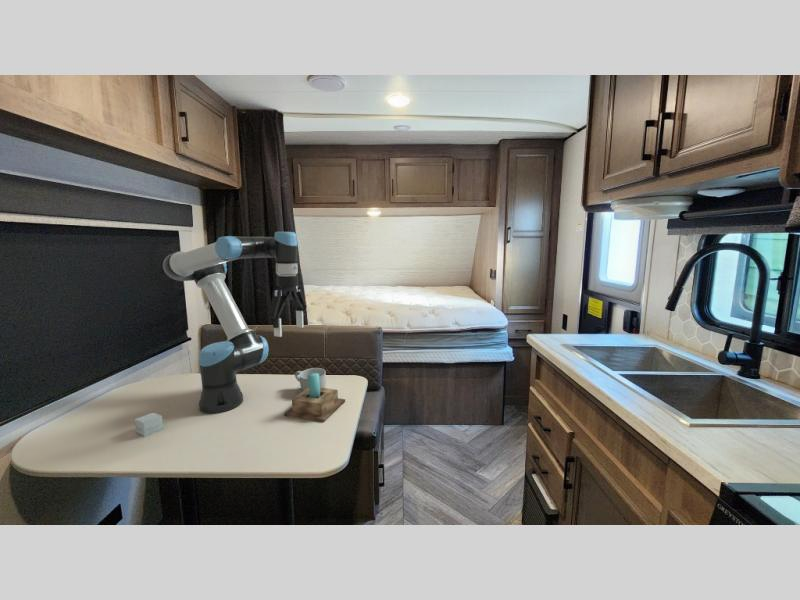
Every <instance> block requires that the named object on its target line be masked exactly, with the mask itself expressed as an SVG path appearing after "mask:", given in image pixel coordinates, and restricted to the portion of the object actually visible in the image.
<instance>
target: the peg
mask: <svg viewBox="0 0 800 600" xmlns="http://www.w3.org/2000/svg"><path fill="white" fill-rule="evenodd" d="M308 386H309V397H310V398H319V397H320V381H319V374H318V373H311V374H309V375H308Z"/></svg>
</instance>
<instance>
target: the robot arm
mask: <svg viewBox="0 0 800 600" xmlns="http://www.w3.org/2000/svg"><path fill="white" fill-rule="evenodd" d="M258 258H269V259H270V258H272V259H273V258H275V274H276V286H277V287H278V288H279V289H278V290H277V289H273V291H272V299H271V303H270V307H269V309H268V310H269V311H268V313H267V314H268V315H267V317H268V318H269V319H272V328H273V336H274V337H279V338H281V337H282V336H283V331H282V318H281V317H280V316H281V315H282V312H283V310H284V308H285V305H286V303H288V302H289V301H291V302H292V304H293V306H294V308H296V310H295V319H296V320H295V321H296V323H295V324H296V328H304V326H305V325H304V311H306V310H307V308H308V307H307V303H306V300H305V296H304V294H303V291H302V286H301V285H299V275H298V273H299V271H298V270H299V269H298V268H299V267H298V266H299V265H298V238H297V233H296V232H295V231H275V232H274V236H236V235H235V236H234V235H233V236H232V235H227V236H219V237H218V238H217V240H216V241H215V242H213V243H210V244H207V245H204V246H201V247H198V248H195V249H191V250H189V251H177V252H174V253H171V254H168V255H167V256H166V257H165V258H164V260H163V262H162V268H163V271H164V273H165V274H166V275H167V276H168V277H169V278H170V279H172V280H174V281H179V282H189V281H193V282H194V283H195V285H196V286H197V287H198V288H200V289H202V290H203V291H204V294H205V295H206V297H207V299H208V301H209V304H210V305H211V307H212V309H213V312H214V313H215V315H216V317H217V319H218V321H219V323H220V325H221V327H222V329H223V331H224V333H225V335H226V338H227V339H226V340H224V341H219V342H217V341H216V342H213V343H211V344H210V343H209V344H208V345H206V346H204V347H203V348H201V350H199V353H198V364H199V370H200V379H201V392H200V393H201V394H200V399H199V401H198V409H199V411H200V412H201V413H204V414H219V413H224V412H227V411H230V410H231V411H232V410H233V409H235V408H237V407H239V406H241V405H242V403H243V402H244V395H243V392H242V391H241V388H240V386H239V384H238V380H237V373H239V372H242V371H245V370H247V369H250V368H252V367H257V366H258V365H260V364H262V363H264V362H265V361H266V360H267V358H268V355H269V349H270V348H269V343H268V341H267V339H266V338H265V337H263V336H262V335H257V333H256V331H255V330H254V329H250V328H249V326H248V325H247V323H246V321H245V318H244V317H243V314H242V313H241V311H240V308H239V307H238V305H237V304H236V301H235V300H234V298H233V296H232V293H231V292H230V289H229V287H228V286H227V284H226V282H225V279H226V277H227V276H226V275H227V271H228V268H227V263H228V262H232V261H236V260H240V259H241V260H242V259H258Z"/></svg>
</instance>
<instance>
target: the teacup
mask: <svg viewBox="0 0 800 600" xmlns="http://www.w3.org/2000/svg"><path fill="white" fill-rule="evenodd" d="M311 373H318V374H319V381H320V388H325V386H326V385H327V376H326V370H325V369H324V368H320V367H311V368H307V369H305V370H298V371H296V372H295V373H294V376H295V377H294V378H295V379H296V381H298V382H299V385H300V388H301V390H302V392H303V391H304V390H306V389H307V388H308V387H309V386H308V375H309V374H311Z"/></svg>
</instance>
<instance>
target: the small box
mask: <svg viewBox="0 0 800 600" xmlns="http://www.w3.org/2000/svg"><path fill="white" fill-rule="evenodd" d="M163 424H164V423H163V416H162V415H160V414H158V413H156V412H151V413H148V414H147V413H146V414H145V415H143V416H140V417H137V418H135V419H134V426H135V431H136V434H138V435H141V436H142V437H145V438H147V437H148V436H151V435H153V434H155V433H158V432H160V431H162V430H164V425H163Z"/></svg>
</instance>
